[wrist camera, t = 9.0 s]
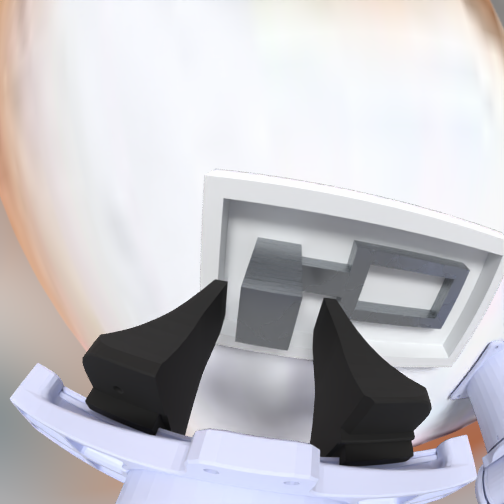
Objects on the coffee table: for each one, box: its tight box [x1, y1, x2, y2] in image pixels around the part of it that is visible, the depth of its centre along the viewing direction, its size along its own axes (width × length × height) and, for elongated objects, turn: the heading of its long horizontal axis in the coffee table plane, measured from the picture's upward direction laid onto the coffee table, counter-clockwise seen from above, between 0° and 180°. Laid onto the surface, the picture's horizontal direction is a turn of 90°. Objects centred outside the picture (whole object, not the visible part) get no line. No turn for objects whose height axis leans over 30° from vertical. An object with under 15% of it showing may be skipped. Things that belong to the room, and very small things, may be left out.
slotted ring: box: [235, 237, 470, 351], centre depth 13 cm, size 13×5×5 cm, turn 83°
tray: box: [200, 169, 504, 367], centre depth 15 cm, size 19×10×2 cm, turn 83°
